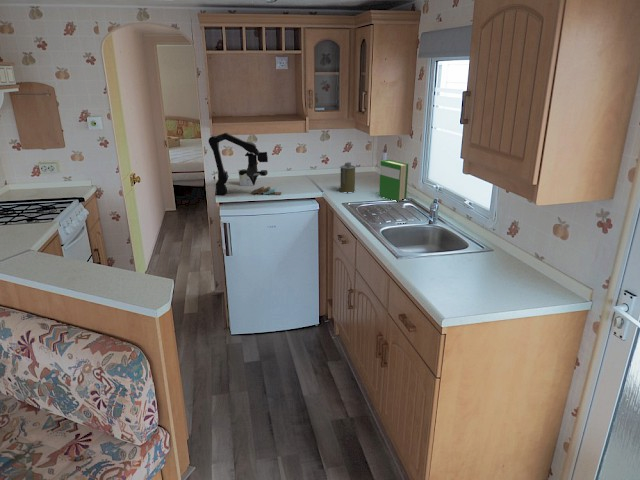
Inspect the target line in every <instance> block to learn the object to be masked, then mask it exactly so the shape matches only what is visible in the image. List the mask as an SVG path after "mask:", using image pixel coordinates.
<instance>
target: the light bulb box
mask: <svg viewBox="0 0 640 480" xmlns="http://www.w3.org/2000/svg"><path fill="white" fill-rule="evenodd" d="M238 177H239V179H238V180H239V185H240V186H246V187H247V186H253V187H254V186H255V185H256V183H257V181H256V182H255V185H253V183H252V181H251V179H250V177H248V176H247V174H244V175H239V174H238Z"/></svg>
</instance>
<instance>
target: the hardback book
mask: <svg viewBox="0 0 640 480" xmlns="http://www.w3.org/2000/svg"><path fill="white" fill-rule="evenodd" d="M408 175H409V163H405V162H401V161H397V160H392V159H385V160H380V169H379V191H378V194H379V195H378V196H379V197H380V196H382V197H381V198H383V197H385V198H384V199H386V198H388V199H387V200H389V199H392V200H396V201H399V200H400V201H403V200H402V199H406V200H407V191H408V177H409V176H408ZM392 200H391V201H392ZM400 201H399V202H400Z"/></svg>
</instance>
